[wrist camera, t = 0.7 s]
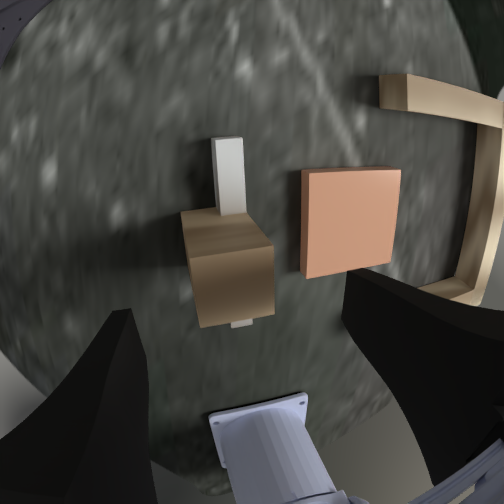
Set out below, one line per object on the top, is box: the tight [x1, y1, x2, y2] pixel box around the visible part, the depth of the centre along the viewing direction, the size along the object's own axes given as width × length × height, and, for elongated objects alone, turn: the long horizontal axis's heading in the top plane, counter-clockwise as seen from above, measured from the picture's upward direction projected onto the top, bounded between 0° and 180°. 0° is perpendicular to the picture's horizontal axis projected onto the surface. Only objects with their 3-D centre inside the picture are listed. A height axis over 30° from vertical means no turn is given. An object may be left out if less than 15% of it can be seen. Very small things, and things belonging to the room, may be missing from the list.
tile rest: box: [379, 74, 504, 306], centre depth 19 cm, size 17×12×2 cm
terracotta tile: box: [300, 166, 401, 279], centre depth 18 cm, size 6×6×2 cm
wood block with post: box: [181, 136, 275, 328], centre depth 14 cm, size 10×3×6 cm, turn 3°
